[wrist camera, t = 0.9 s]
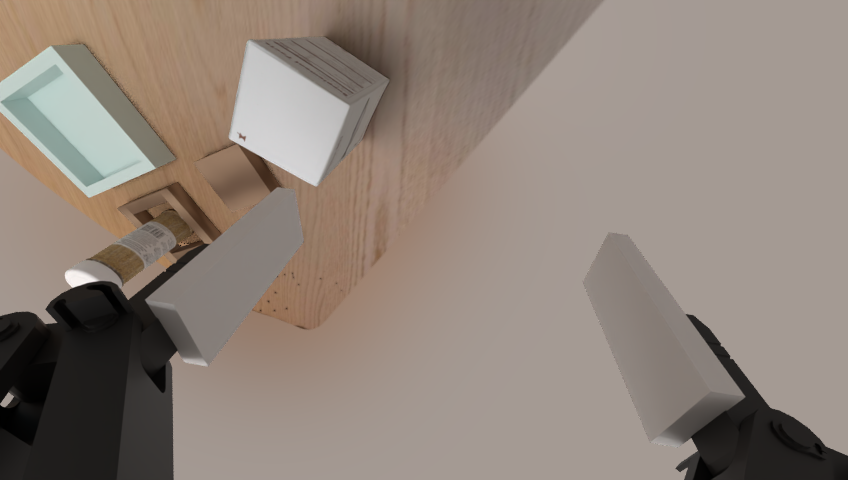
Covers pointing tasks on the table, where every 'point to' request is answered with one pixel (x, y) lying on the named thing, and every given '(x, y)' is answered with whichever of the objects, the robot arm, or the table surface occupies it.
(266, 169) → the square wooden coaster
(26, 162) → the table surface
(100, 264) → the sprinkles bottle
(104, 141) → the tray
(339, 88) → the supplement box
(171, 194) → the socket block
